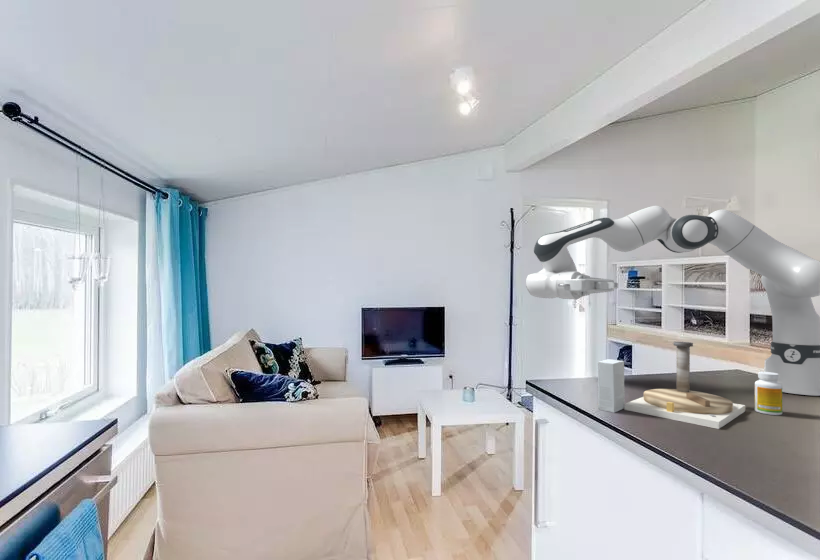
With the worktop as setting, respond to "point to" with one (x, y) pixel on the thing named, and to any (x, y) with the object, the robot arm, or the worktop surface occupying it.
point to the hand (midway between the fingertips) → (615, 285)
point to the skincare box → (611, 385)
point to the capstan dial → (687, 390)
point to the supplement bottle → (768, 394)
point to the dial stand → (685, 413)
